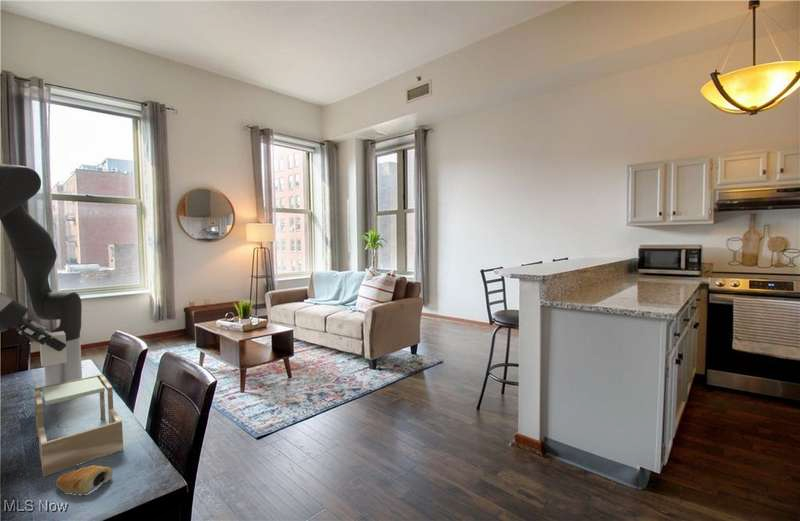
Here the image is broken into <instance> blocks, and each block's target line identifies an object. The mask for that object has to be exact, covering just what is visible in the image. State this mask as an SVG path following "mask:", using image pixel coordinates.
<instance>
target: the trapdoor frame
mask: <svg viewBox="0 0 800 521" xmlns="http://www.w3.org/2000/svg"><path fill="white" fill-rule="evenodd" d="M94 377H98V379H99V380H100V382H101V383H102V385H103V386H104V388H105V390H106V392H107V406H108V407H107V408H108V410H107V411H108V423H107V424H103V425H100V426H97V427H93V428H90V429H86V430H85V429H84V430H82V431H79V432H75V433H72V434H69V435H65V436H62V437H61V436H60V437H58V438H55V439H51V440H47V435H46V430H45V422H44V421H45V420H44V419H45V418H44V404H43V403H44V401H43V398H42V394H41V392H42V388H46V387H51V386H56V385H61V384H65V383H70V382H75V381H80V380H84V379H89V378H94ZM33 391H34V407H35V408H34V410H35V425H36V427H35V429H36V437H37V438H38V442H39V446H38V447H39V458H40V464H41V465H40V466H41V470H42V471H41V472H42V477H43V478H45V477H48V476H51V475H54V474H56V472H57V473H59V472H61V471H60V470H62V471H64V470H63V469H65V470H67V469H66V468H68V469H70V468H69V467H71V468H73V467H72V466H74V467H76V466H75V465H77V464H80V463H83V462H86V461H89V460H92V461H94V460H93V459H95V460H97V459H96V458H98V459H101V458H104V457H107V456H109V454H110V455H112V454H111V453H113V454H115V453H114V452H116V453H118V452H117V451H119V452H121V451H120V450H122V451H124V435H123V431H124V430H123V420H122V419H121V417H120V416H119V414H118V413H117V412H116V410H115V408H114V395H113V394H114V393H113V392H114V391H113V386H112V384H111V383H110V382H109V380H108V379H107V378H106V377H105V375H104V374H97V375H93V376H87V377H84V378H83V377H82V379H77V380H73V381H68V382H63V383H58V384H53V385H49V386H40V387H36V388H33ZM105 403H106V401H105V391H104V392H100V393H99V406H100V407H99V408H100V420H104V419H106V408H105V407H106V406H105V405H106V404H105ZM103 456H104V457H103ZM100 457H101V458H100ZM89 462H90V461H89ZM86 463H87V462H86ZM83 464H84V463H83ZM80 465H81V464H80ZM77 466H78V465H77ZM58 471H59V472H58ZM53 473H54V474H53ZM50 474H51V475H50Z"/></svg>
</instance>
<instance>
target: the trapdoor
mask: <svg viewBox="0 0 800 521" xmlns="http://www.w3.org/2000/svg"><path fill="white" fill-rule="evenodd" d="M105 390H106V388H105V387H104V386H103V385H102V383H101V382H100V380H99V379H98V377H94V378H89V379H84V380H80V381H75V382H70V383H65V384H61V385H56V386H51V387H46V388H42V391H41V392H42V396H43V402H44V405H45V406H48V405H52V404H58V403H60V402H61V403H62V402H64V401H70V400H74V399H79V398H82V397H87V396H92V395H95V394H100V392H104V393H105Z"/></svg>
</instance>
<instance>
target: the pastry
mask: <svg viewBox="0 0 800 521" xmlns="http://www.w3.org/2000/svg"><path fill="white" fill-rule="evenodd" d="M112 477H113V470H112V469H111V468H110V467H109V466H106V465H105V466H102V465H97V464H92V465H89V466H87V467H86V466H84V467H81V468H78V469H73V470H71V471H69V472H67V473H63V474H62V475H61V476H59V477H58V478H57V480H56V482H55V487H56V488H58V489H60V490H61V491H62V492H63V493H64V494H65V493H72V494H76V495H79V494H81V495H85V494H88V493H89V492H90V491H92V490H94V489H95V488H97V487H98V486H99V485H101V484H102V483H105V482H106V483H107V482H108V480H109V481H110V480H111V478H112ZM106 483H105V484H106Z"/></svg>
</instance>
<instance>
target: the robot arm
mask: <svg viewBox="0 0 800 521" xmlns="http://www.w3.org/2000/svg"><path fill="white" fill-rule="evenodd" d="M41 186H42V180H41V176H40V175H39V173H38V172H37V171H36V170H34V169H33V168H31V167H28V166H24V165H16V164H3V163H0V222H1V225H2V228H3V229H4V231H5V233H6V235H7V238H8V241H9V244H10V247H11V249H12V251H13V254H14V256H15V258H16V261H17V263H18V265H19V268H20V270H21V273H22V275H23V277H24V280H25V284H26V287H27V290H28V295H29V298H30V303H31V306H32V309H33V312H34V313H35V316H36V317H37V318H38V319H41V320H44V321H45V320H46V321H54V320H55V321H58V320H59V325H58V326H57V327H56V328H53V329H51V330H49V329H48V328H46V327H45V326H44V325H42V324H40V323H38V322H37V321H36V320H35V319H33V318H30V317H29V318H25V316H26V315H27V314H28V312H29V311H30V310H29V307H26V306H25V305H23V304H21V303H20V302H18V301H16V300H14V299H13V298H11V297H9V296H8V295H6V294H4V293H2V292H0V332H1V333H2V332H6V331H8V330H9V329H10V328H12V327H13V328H15V329H16V331H17V332H16V333H18V334H19V335H20V336H25V337H27V338H28V339H30V340H32V341H35V342H36V343H39V345H40V344H43V345H48V346H50V347H52V348H53V349H55V350H57V351H61V350H63V349H64V348H65V347H66V355H67V362H66V363H60V364H55V365H49V366H44V383H45V386H49V385H53V384H58V383H63V382H68V381H73V380H77V379H82V378H83V371H82V370H83V369H82V367H83V366H82V350H81V349H82V347H81V330H82V310H83V309H82V307H83V306H82V299H81V296H80V295H79V293H77V292H75V291H55V292H54V291H52V288H51V286H50V283H49V277H50V274H51V271H52V270H53V268H54V266H55V264H56V261H57V257H58V256H57V255H58V254H57V250H56V248H55V245H54V242H53V239H52V236H51V235H50V233H49V232H48V231H47V230H46V229H45V228H44V226H42V225H41V224H40V223H39V222H38V221H37V220H36V219H35V218H33V216H32V215H31V214H29V212H28V211H27V210H26V209H25V207H24V205H23V204H24V203H25V202H27V201H28V200H30V199H32V198H33V197H34V196H35V195H37V194H38V192H39V191H40V189H41ZM61 331H64V333H65V335H66V344H65V343H63V342H61V341H59V340H57V339H56V338H54V337H53V336H52V335H49V334H48V333H53V332H61ZM42 335H44V336H45V337H44V338H43V339H42V340H41V339H40V337H41V336H42Z"/></svg>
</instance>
